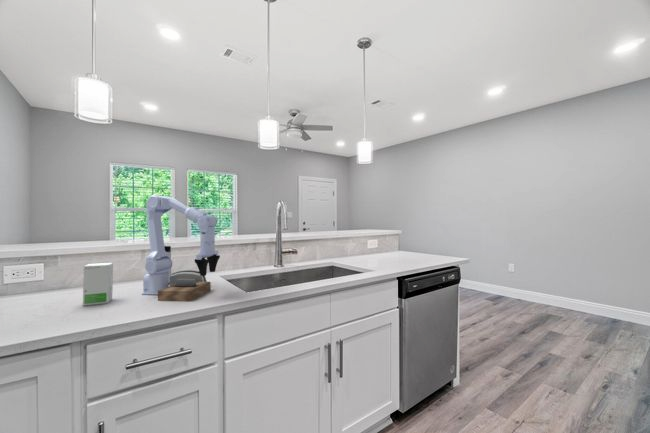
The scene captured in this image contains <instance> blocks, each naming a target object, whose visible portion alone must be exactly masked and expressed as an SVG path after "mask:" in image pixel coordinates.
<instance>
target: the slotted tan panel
mask: <svg viewBox="0 0 650 433" xmlns="http://www.w3.org/2000/svg"><path fill="white" fill-rule="evenodd" d="M211 283H212V282H211V281H207V282H196V287H176V284H174V285H172V286H170V285H169V287H166V288H164V289H161V290H159V291H158V295H157V301H160V302H162V301H163V302H165V301H167V302H169V301H170V302H191V301H193V300H195V299H197V298H199V297H201V296H203V295H205V294H207V293H208V292H211V287H212V286H211Z"/></svg>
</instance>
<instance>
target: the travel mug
mask: <svg viewBox="0 0 650 433" xmlns="http://www.w3.org/2000/svg"><path fill="white" fill-rule="evenodd" d="M164 247H165V251H166V252H167V253H169V254H170V258H171V259H172V253H171V252H172V250H171V249H172V247H171V245H164ZM158 258H160V257H158ZM158 258H157V259H158ZM171 275H172V267H171V268H170V271H169V272H168V282H169V285H170V276H171Z"/></svg>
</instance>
